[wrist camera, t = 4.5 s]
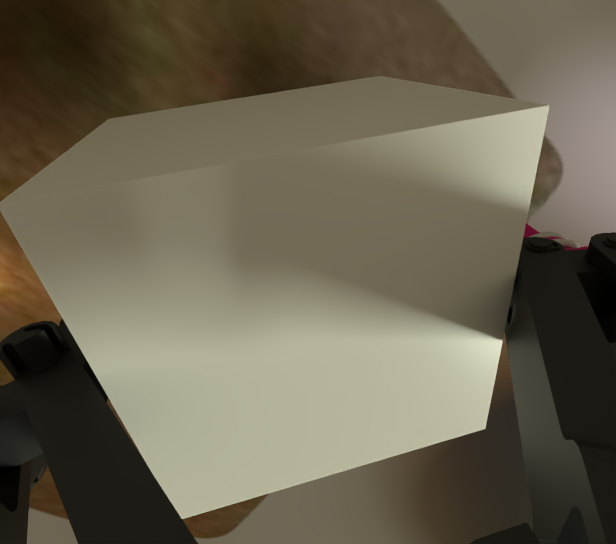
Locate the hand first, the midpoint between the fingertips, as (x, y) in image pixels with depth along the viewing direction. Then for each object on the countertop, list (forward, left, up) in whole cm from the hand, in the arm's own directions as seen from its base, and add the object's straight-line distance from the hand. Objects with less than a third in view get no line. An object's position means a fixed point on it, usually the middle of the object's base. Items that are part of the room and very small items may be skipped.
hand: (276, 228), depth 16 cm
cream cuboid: (0, 0, -1) cm, 1 cm away
